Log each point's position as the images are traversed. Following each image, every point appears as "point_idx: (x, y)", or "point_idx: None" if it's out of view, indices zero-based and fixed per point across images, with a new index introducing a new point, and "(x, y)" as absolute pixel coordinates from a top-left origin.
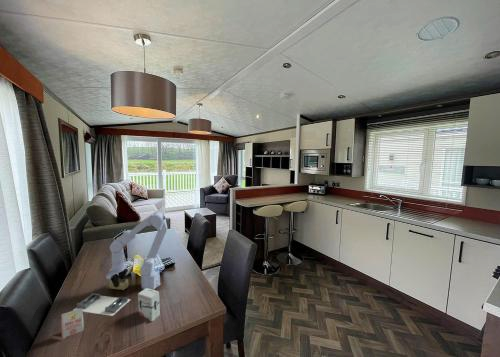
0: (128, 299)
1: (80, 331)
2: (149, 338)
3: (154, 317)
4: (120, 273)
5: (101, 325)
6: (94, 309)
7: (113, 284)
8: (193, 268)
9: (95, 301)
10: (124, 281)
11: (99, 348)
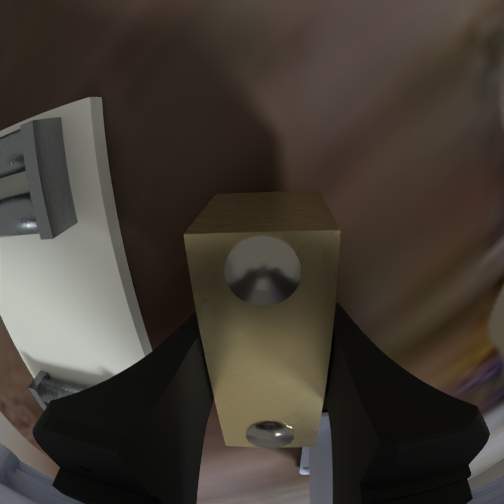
0: None
1: None
2: None
3: None
4: (349, 445)
5: (20, 382)
6: (8, 298)
7: (182, 328)
8: (500, 457)
9: None
10: (256, 443)
11: (6, 414)
